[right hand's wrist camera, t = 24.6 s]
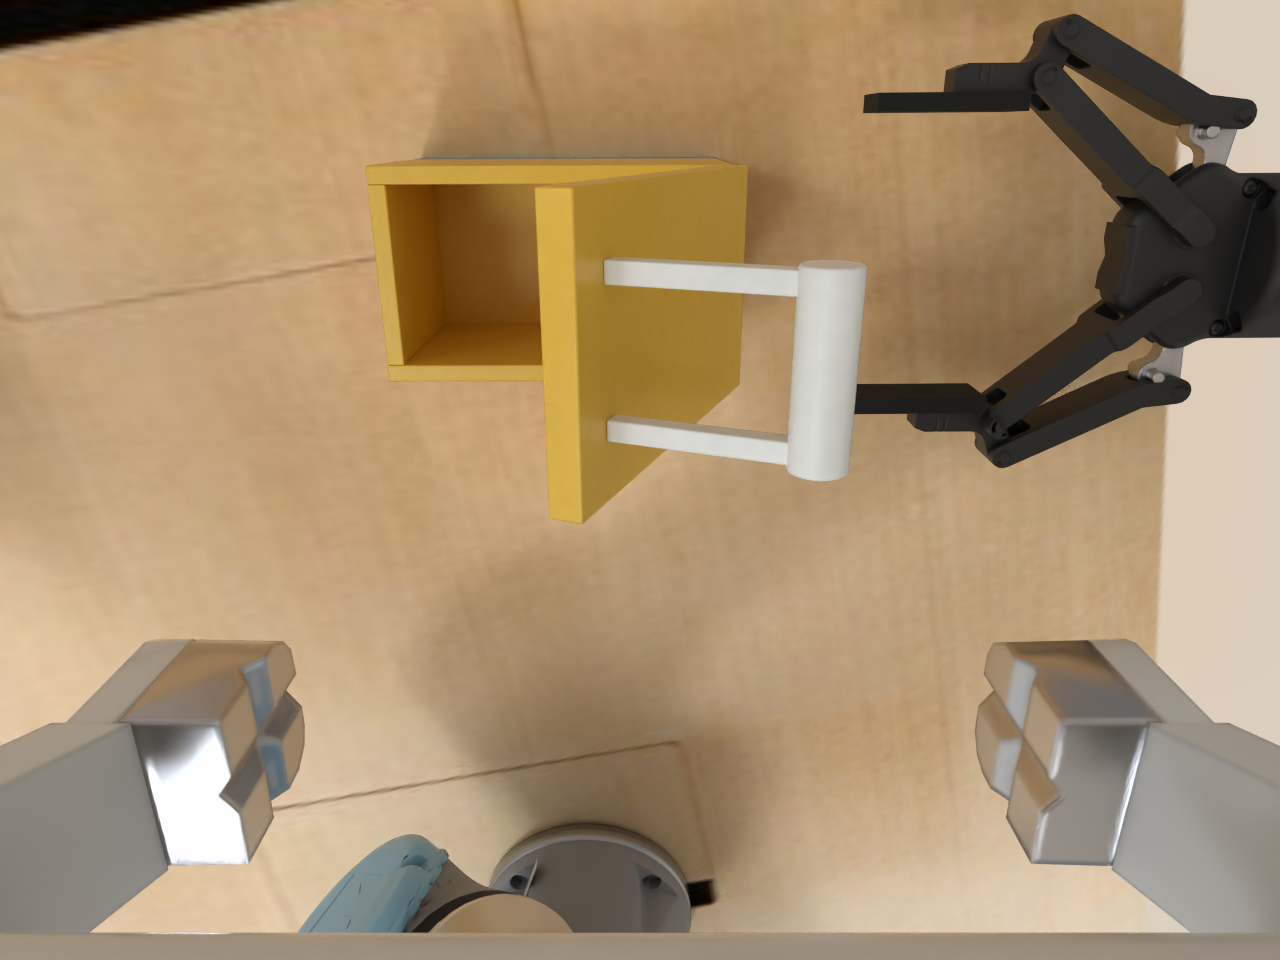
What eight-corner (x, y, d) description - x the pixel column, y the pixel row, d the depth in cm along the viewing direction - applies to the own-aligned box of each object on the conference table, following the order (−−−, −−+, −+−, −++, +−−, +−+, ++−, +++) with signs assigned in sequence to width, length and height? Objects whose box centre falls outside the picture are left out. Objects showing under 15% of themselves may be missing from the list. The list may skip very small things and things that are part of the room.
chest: (436, 334, 50) (389, 381, 41) (421, 158, 47) (364, 165, 37) (710, 333, 50) (726, 380, 41) (714, 157, 47) (734, 163, 37)
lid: (548, 519, 26) (828, 567, 23) (533, 185, 23) (860, 192, 20) (715, 383, 40) (902, 402, 37) (722, 164, 37) (929, 166, 34)
